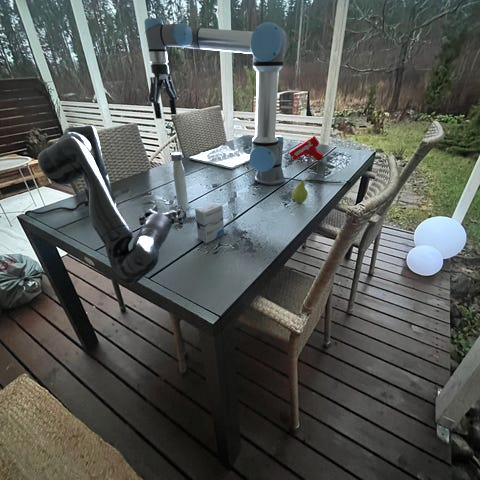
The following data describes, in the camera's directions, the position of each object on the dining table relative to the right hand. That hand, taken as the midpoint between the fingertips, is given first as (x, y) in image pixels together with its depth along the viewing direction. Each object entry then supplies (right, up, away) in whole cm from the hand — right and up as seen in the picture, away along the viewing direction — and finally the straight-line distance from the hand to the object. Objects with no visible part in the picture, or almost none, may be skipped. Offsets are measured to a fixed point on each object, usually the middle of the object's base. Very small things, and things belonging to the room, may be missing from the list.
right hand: (166, 116), depth 130 cm
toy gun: (+78, -8, +44) cm, 90 cm away
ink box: (+25, -58, -33) cm, 72 cm away
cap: (+11, -26, -25) cm, 38 cm away
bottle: (+11, -46, -13) cm, 49 cm away
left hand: (+10, -48, -37) cm, 62 cm away
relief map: (+24, -6, +49) cm, 55 cm away
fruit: (+62, -43, -9) cm, 76 cm away
